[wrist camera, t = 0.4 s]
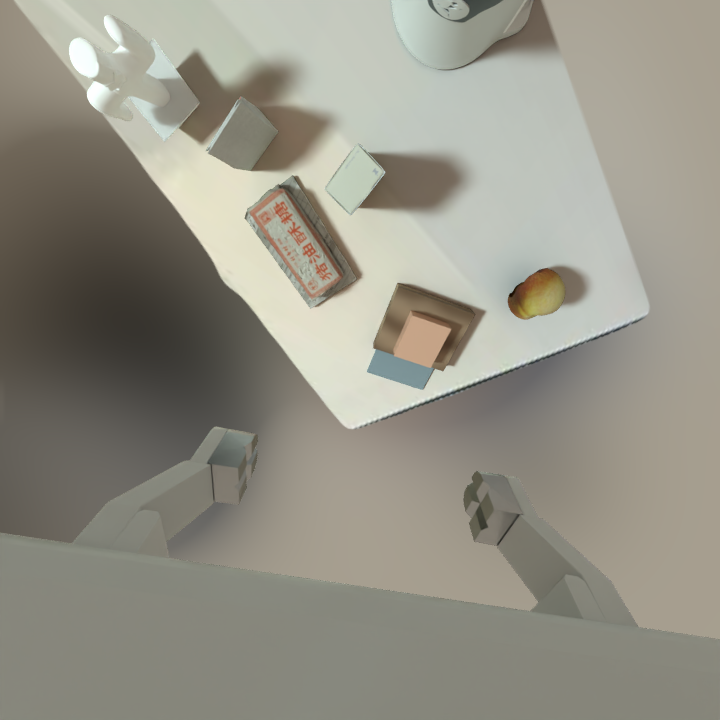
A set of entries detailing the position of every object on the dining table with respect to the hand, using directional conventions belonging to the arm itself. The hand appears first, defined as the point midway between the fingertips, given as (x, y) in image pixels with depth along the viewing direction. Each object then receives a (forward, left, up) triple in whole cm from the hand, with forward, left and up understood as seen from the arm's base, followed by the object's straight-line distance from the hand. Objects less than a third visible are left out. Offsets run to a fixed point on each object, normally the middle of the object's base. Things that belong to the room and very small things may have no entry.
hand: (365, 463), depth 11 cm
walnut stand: (+9, +13, -44) cm, 47 cm away
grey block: (-9, -21, -45) cm, 50 cm away
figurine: (-10, -32, -44) cm, 56 cm away
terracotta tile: (+10, +13, -42) cm, 45 cm away
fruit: (-3, +26, -44) cm, 52 cm away
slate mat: (+18, +13, -44) cm, 49 cm away
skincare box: (-9, -5, -44) cm, 46 cm away
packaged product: (+3, -11, -45) cm, 46 cm away
